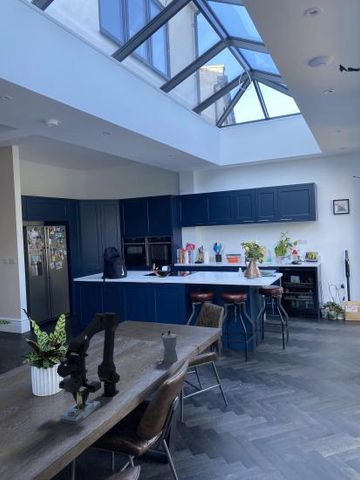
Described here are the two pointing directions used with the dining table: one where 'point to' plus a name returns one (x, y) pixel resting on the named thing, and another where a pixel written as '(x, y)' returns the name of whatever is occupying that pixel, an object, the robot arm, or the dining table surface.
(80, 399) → the pin
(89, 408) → the slotted mounting bracket
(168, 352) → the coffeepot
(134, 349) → the dining table surface
